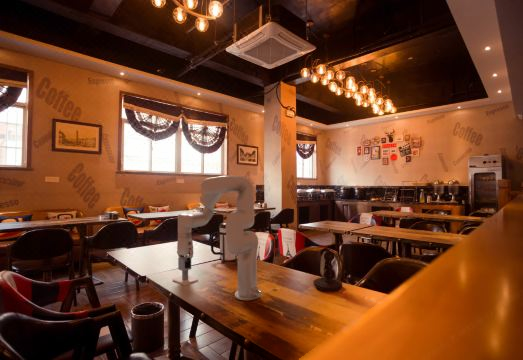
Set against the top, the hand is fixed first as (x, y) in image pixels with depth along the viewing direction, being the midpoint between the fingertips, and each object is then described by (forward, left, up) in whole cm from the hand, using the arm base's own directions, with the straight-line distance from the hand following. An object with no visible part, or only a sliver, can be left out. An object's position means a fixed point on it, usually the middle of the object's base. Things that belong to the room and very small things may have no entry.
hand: (184, 266), depth 161 cm
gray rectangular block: (0, 0, -1) cm, 1 cm away
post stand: (0, 0, -8) cm, 8 cm away
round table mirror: (-67, -43, -8) cm, 80 cm away
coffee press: (+13, -43, -8) cm, 46 cm away
